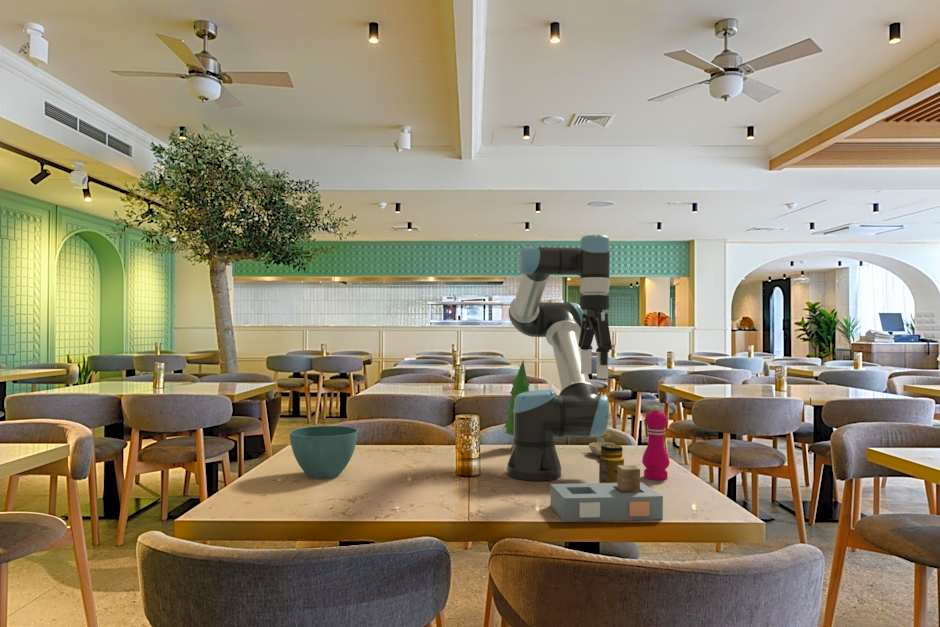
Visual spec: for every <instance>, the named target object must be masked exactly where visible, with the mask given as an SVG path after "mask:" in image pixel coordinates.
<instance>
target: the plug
mask: <svg viewBox="0 0 940 627" xmlns="http://www.w3.org/2000/svg"><path fill="white" fill-rule="evenodd" d="M640 482H641V468H639V467H637V466H636V465H634V464H632V465H630V464H629V465H625V464H624V465H617V490H618V491H619V492H620V493H640Z"/></svg>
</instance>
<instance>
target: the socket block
mask: <svg viewBox="0 0 940 627" xmlns="http://www.w3.org/2000/svg"><path fill="white" fill-rule="evenodd" d="M549 504H550V507H551V508H552V510H554V511H555V513H556V514H557V515H558V517H559V518H560V519H561V520H562V521H563V523H566V522H569V523H571V522H610V521H611V522H612V521H642V520H643V521H645V520H647V521H648V520H649V521H651V520H653V521H654V520H664V514H663V513H664V512H663V511H664V496H663V495H662V494H660V493H659V492H658V491H656V490H654V489H653V488H651V487H650V486H648V485H646V484H645V483H644V482H641V481H640V493H620V492H619V491H618V490H617V483H599V482H594V483H593V482H587V483H585V482H584V483H550V502H549Z"/></svg>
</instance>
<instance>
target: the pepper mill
mask: <svg viewBox="0 0 940 627" xmlns="http://www.w3.org/2000/svg"><path fill="white" fill-rule="evenodd" d="M644 423H645V425H646V426H647V427H646V434H648V443H647V446H646V448H645V451H643V452H644V453H643V455H642V461H641V463H642V465H643V466H644V468H645V469H644V471H643V477H644V478H646V479H647V480H655V481H663V480H667V479H668V470H667V468H669V466H670V457H669V454H668V452H667V450H666V448H665V444H664V437H665V436H664V435H666V428H665V427H666V426H667V424H668V417H667V415H666V414H665V412H663V411H661V410H660V406H659V405H657V404H655V405H653V407H652V410H651V411H649V412H647V413H646V414H645V417H644Z"/></svg>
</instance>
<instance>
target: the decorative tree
mask: <svg viewBox="0 0 940 627" xmlns="http://www.w3.org/2000/svg"><path fill="white" fill-rule="evenodd" d="M511 385H513V386H512V388H511V391H510V393H509V394H510V395H511V396H510V397H509V401H508V402H507V403H508V404H510V406H509V407H508V410H507V413H506V416H508V418H507V420H506V422H505V424H504V426H503V427H504V428H505V429H506V430H505V434H506V435H510V436H514V413H513V410H514V400H515V397H516V396H517V395H518V394H520V393H524V392H528V391H530V389H529V387H530V382H529V380H528V377H527V372H526V367H525V362H524V360H522V361H521V364H520V366H519V368H518V371H517V374H516V377H515V379H514V380H513V382H512V384H511ZM513 446H514V442H513V443H512V445H511V448H512V449H513ZM511 448H510V449H511ZM512 449H511V450H512Z"/></svg>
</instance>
